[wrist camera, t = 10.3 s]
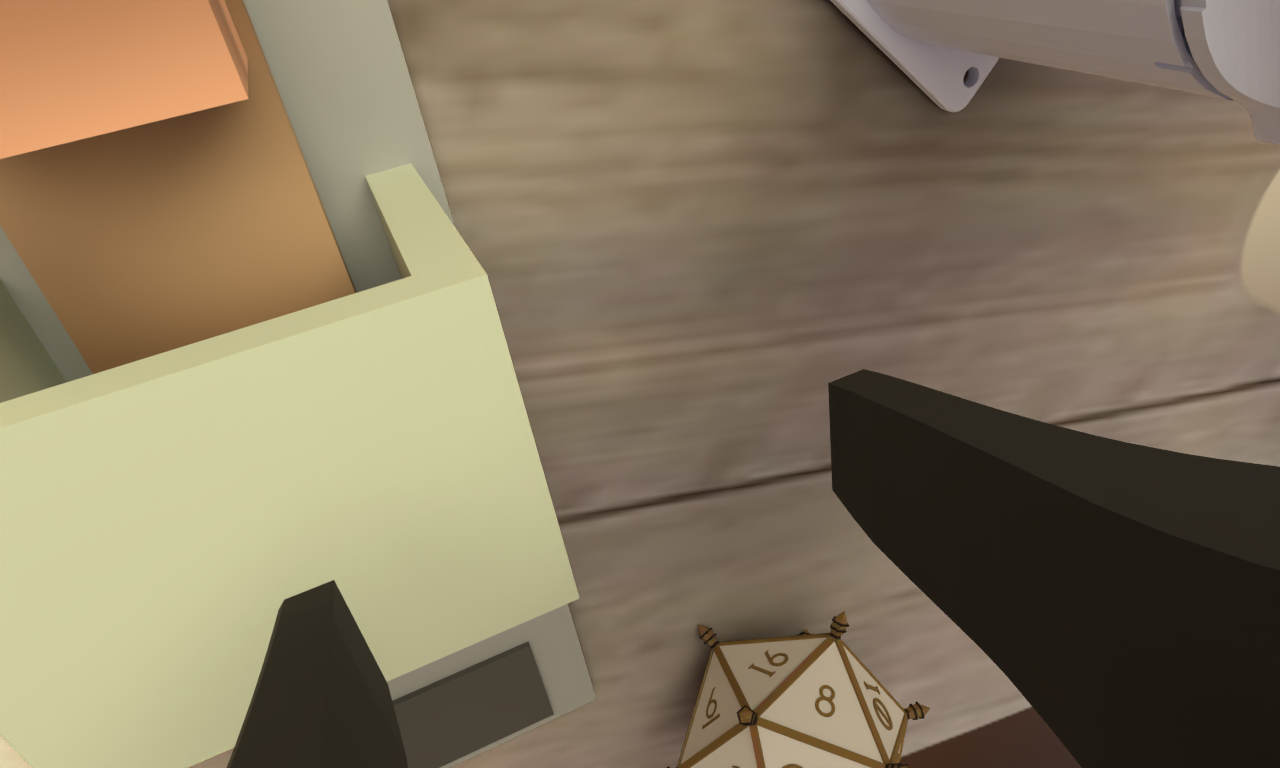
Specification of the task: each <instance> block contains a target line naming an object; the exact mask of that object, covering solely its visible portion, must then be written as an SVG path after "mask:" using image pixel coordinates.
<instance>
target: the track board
mask: <svg viewBox="0 0 1280 768" xmlns="http://www.w3.org/2000/svg"><path fill="white" fill-rule="evenodd" d="M243 1H244V3H245V6H246V8H247V11H248V13H249V16H250V19H251V21H252V24H253V26H254V29H255V32H256V34H257V37H258V39H259V42H260V44H261V47H262V50H263V52H264V55H265V57H266V60H267V62H268V65H269V68H270V70H271V73H272V75H273V78H274V80H275V83H276V86H277V88H278V91H279V93H280V96H281V99H282V101H283V104H284V106H285V109H286V111H287V114H288V117H289V119H290V122H291V124H292V127H293V129H294V132H295V135H296V137H297V140H298V142H299V145H300V147H301V150H302V153H303V155H304V158H305V160H306V163H307V166H308V168H309V171H310V173H311V176H312V178H313V181H314V184H315V186H316V189H317V191H318V194H319V196H320V199H321V202H322V204H323V207H324V209H325V212H326V214H327V217H328V220H329V222H330V225H331V227H332V230H333V233H334V235H335V238H336V240H337V243H338V245H339V248H340V251H341V253H342V256H343V258H344V261H345V263H346V266H347V269H348V271H349V274H350V276H351V279H352V281H353V284H354V287H355V289H356V292H357V293H358V292H361V291H364V290H367V289H371V288H374V287H377V286H380V285H384V284H387V283H390V282H393V281H397V280H400V279H401V277H400V275H399V272H398V269H397V266H396V263H395V260H394V257H393V255H392V252H391V249H390V246H389V243H388V240H387V238H386V235H385V232H384V229H383V226H382V223H381V220H380V218H379V215H378V212H377V209H376V206H375V203H374V200H373V198H372V195H371V192H370V189H369V186H368V183H367V181H366V178H365V176H367V175H371V174H374V173H378V172H382V171H385V170H389V169H393V168H396V167H400V166H403V165H407V164H412V165H413V167H414V168H415V169H416V171H417V172H418V174H419V175H420V177H421V178H422V180H423V181H424V183H425V184H426V186H427V187H428V189H429V190H430V191H431V193H432V194H433V196H434V197H435V199H436V200H437V202H438V203H439V205H440V206H441V208H442V209H443V211H444V212H445V214H446V215H447V216H448V218H449V219H450V221H451V222H452V224H453V225H454V222H453V219H452V215H451V212H450V209H449V205H448V202H447V199H446V195H445V192H444V189H443V185H442V182H441V179H440V175H439V172H438V169H437V165H436V162H435V159H434V155H433V152H432V149H431V145H430V142H429V139H428V135H427V132H426V129H425V125H424V122H423V119H422V115H421V112H420V109H419V105H418V102H417V98H416V95H415V92H414V88H413V85H412V82H411V78H410V75H409V72H408V68H407V65H406V62H405V58H404V55H403V52H402V48H401V45H400V42H399V38H398V35H397V32H396V28H395V25H394V22H393V18H392V15H391V12H390V8H389V5H388V2H387V0H243ZM454 227H455V225H454ZM0 280H1V281H2V283H3V284H4V286H5V288H6V289H7V291H8V292H9V294H10V295H11V297H12V298H13V300H14V301H15V303H16V304H17V306H18V308H19V309H20V311H21V312H22V314H23V315H24V317H25V318H26V320H27V321H28V323H29V324H30V326H31V328H32V329H33V331H34V332H35V334H36V335H37V337H38V338H39V340H40V341H41V343H42V345H43V346H44V348H45V349H46V351H47V352H48V354H49V355H50V357H51V358H52V360H53V361H54V363H55V365H56V366H57V368H58V369H59V371H60V372H61V374H62V375H63V377H64V378H65V380H66V381H67V382H70V381H73V380H76V379H80V378H83V377H86V376H89V375H93V373H92V371H91V370H90V368H89V367H88V365H87V363H86V362H85V360H84V359H83V357H82V355H81V354H80V352H79V351H78V349H77V347H76V346H75V344H74V343H73V341H72V339H71V338H70V336H69V335H68V333H67V331H66V330H65V328H64V327H63V325H62V323H61V322H60V320H59V319H58V317H57V315H56V314H55V312H54V311H53V309H52V307H51V306H50V304H49V303H48V301H47V299H46V298H45V296H44V295H43V293H42V291H41V290H40V288H39V287H38V285H37V283H36V282H35V280H34V279H33V277H32V275H31V274H30V272H29V271H28V269H27V267H26V266H25V264H24V262H23V261H22V259H21V258H20V256H19V254H18V253H17V251H16V250H15V248H14V246H13V245H12V243H11V242H10V240H9V238H8V237H7V235H6V234H5V232H4V230H3V229H2V227H1V226H0ZM525 642H529V644H530V647H531V650H532V653H533V655H534V658H535V661H536V664H537V667H538V670H539V673H540V675H541V678H542V681H543V684H544V687H545V690H546V693H547V695H548V698H549V701H550V704H551V707H552V710H553V712H554V715H552V716H550V717H548V718H545V719H543V720H541V721H539V722H537V723H535V724H533V725H530V726H528V727H526V728H524V729H522V730H520V731H517V732H515V733H513V734H511V735H509V736H507V737H505V738H502V739H500V740H498V741H496V742H494V743H492V744H490V745H487V746H485V747H483V748H481V749H479V750H477V751H475V752H472V753H470V754H468V755H466V756H464V757H462V758H460V759H457V760H455V761H453V762H451V763H449V764H447V765H444V766H442V767H440V768H451V767H453V766H455V765H458V764H460V763H462V762H464V761H466V760H468V759H470V758H473V757H475V756H477V755H479V754H481V753H483V752H485V751H488V750H490V749H492V748H494V747H496V746H498V745H500V744H503V743H505V742H507V741H509V740H511V739H513V738H515V737H518V736H520V735H522V734H524V733H526V732H528V731H530V730H532V729H535V728H537V727H539V726H541V725H543V724H545V723H547V722H550V721H552V720H554V719H556V718H558V717H560V716H562V715H565V714H567V713H569V712H571V711H573V710H575V709H577V708H580V707H582V706H584V705H586V704H588V703H590V702H592V701H595V700H597V699H596V696H595V693H594V689H593V686H592V683H591V679H590V676H589V673H588V669H587V666H586V663H585V659H584V656H583V653H582V649H581V646H580V643H579V639H578V636H577V633H576V629H575V626H574V623H573V619H572V616H571V613H570V609H569V606H568V604H566V605H563V606H561V607H559V608H557V609H554V610H552V611H550V612H547V613H545V614H543V615H540V616H538V617H536V618H533V619H531V620H529V621H526V622H524V623H522V624H519V625H517V626H515V627H512V628H510V629H508V630H506V631H503V632H501V633H499V634H496V635H494V636H492V637H489V638H487V639H485V640H482V641H480V642H478V643H475V644H473V645H471V646H468V647H466V648H464V649H462V650H459V651H457V652H455V653H452V654H450V655H448V656H445V657H443V658H441V659H438V660H436V661H434V662H431V663H429V664H427V665H424V666H422V667H420V668H418V669H415V670H413V671H411V672H408V673H406V674H404V675H401V676H399V677H397V678H394V679H392V680H390V681H387V683H388V686H389V690H390V694H391V698H392V701H393V700H395V699H398V698H400V697H402V696H404V695H407V694H409V693H411V692H414V691H416V690H418V689H420V688H423V687H425V686H427V685H430V684H432V683H434V682H436V681H439V680H441V679H443V678H445V677H448V676H450V675H452V674H455V673H457V672H459V671H461V670H464V669H466V668H468V667H471V666H473V665H475V664H477V663H480V662H482V661H484V660H487V659H489V658H491V657H493V656H496V655H498V654H500V653H503V652H505V651H507V650H509V649H512V648H514V647H516V646H518V645H521V644H523V643H525Z"/></svg>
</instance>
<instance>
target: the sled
mask: <svg viewBox="0 0 1280 768" xmlns="http://www.w3.org/2000/svg"><path fill="white" fill-rule="evenodd" d="M0 226H1V227H2V229H3V230H4V232H5V234H6V235H7V237H8V238H9V240H10V242H11V243H12V245H13V246H14V248H15V250H16V251H17V253H18V254H19V256H20V258H21V259H22V261H23V262H24V264H25V266H26V267H27V269H28V271H29V272H30V274H31V275H32V277H33V279H34V280H35V282H36V283H37V285H38V287H39V288H40V290H41V291H42V293H43V295H44V296H45V298H46V299H47V301H48V303H49V304H50V306H51V307H52V309H53V311H54V312H55V314H56V315H57V317H58V319H59V320H60V322H61V323H62V325H63V327H64V328H65V330H66V331H67V333H68V335H69V336H70V338H71V339H72V341H73V343H74V344H75V346H76V347H77V349H78V351H79V352H80V354H81V355H82V357H83V359H84V360H85V362H86V363H87V365H88V367H89V368H90V370H91V371H92V373H93V374H96V373H99V372H102V371H105V370H109V369H112V368H115V367H118V366H122V365H125V364H128V363H131V362H135V361H138V360H141V359H144V358H148V357H151V356H154V355H157V354H160V353H164V352H167V351H170V350H173V349H177V348H180V347H183V346H186V345H190V344H193V343H196V342H199V341H202V340H206V339H209V338H212V337H215V336H219V335H222V334H225V333H228V332H232V331H235V330H238V329H241V328H245V327H248V326H251V325H254V324H257V323H261V322H264V321H267V320H270V319H274V318H277V317H280V316H283V315H287V314H290V313H293V312H296V311H300V310H303V309H306V308H309V307H312V306H316V305H319V304H322V303H325V302H329V301H332V300H335V299H338V298H342V297H345V296H348V295H351V294H355V293H357V292H356V289H355V287H354V284H353V281H352V279H351V276H350V274H349V271H348V269H347V266H346V263H345V261H344V258H343V256H342V253H341V251H340V248H339V245H338V243H337V240H336V238H335V235H334V233H333V230H332V227H331V225H330V222H329V220H328V217H327V214H326V212H325V209H324V207H323V204H322V202H321V199H320V196H319V194H318V191H317V189H316V186H315V184H314V181H313V178H312V176H311V173H310V171H309V168H308V166H307V163H306V160H305V158H304V155H303V153H302V150H301V147H300V145H299V142H298V140H297V137H296V135H295V132H294V129H293V127H292V124H291V122H290V119H289V117H288V114H287V111H286V109H285V106H284V104H283V101H282V99H281V96H280V93H279V91H278V88H277V86H276V83H275V80H274V78H273V75H272V73H271V70H270V68H269V65H268V62H267V60H266V57H265V55H264V52H263V50H262V47H261V44H260V42H259V39H258V37H257V34H256V32H255V29H254V26H253V24H252V21H251V19H250V16H249V13H248V11H247V8H246V6H245V3H244V1H243V0H0Z"/></svg>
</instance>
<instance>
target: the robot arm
mask: <svg viewBox="0 0 1280 768" xmlns="http://www.w3.org/2000/svg"><path fill="white" fill-rule="evenodd" d="M830 1H831V2H832V3H833V4H834V5H835V6H836V7H837V8H838V9H839V10H840V11H841V12H842V13H843V14H844V15H846V16H847V17H848V18H849V19H850V20H851V21H852V22H853V23H854V24H855V25H856V26H857V27H858V28H859V29H860V30H861V31H862V32H863V33H864V34H865V35H866V36H867V37H868V38H869V39H870V40H871V41H872V42H873V43H874V44H875V45H876V46H877V47H878V48H879V49H880V50H881V51H882V52H883V53H884V54H885V55H886V56H887V57H888V58H890V59H891V60H892V61H893V62H894V63H895V64H896V65H897V66H898V67H899V68H900V69H901V70H902V71H903V72H904V73H905V74H906V75H907V76H908V77H909V78H910V79H911V80H912V81H913V82H914V83H915V84H916V85H917V86H918V87H919V88H920V89H921V90H922V91H923V92H924V93H925V94H926V95H927V96H928V97H929V98H930V99H931V100H932V101H933V102H935V103H936V104H937V105H938V106H939V107H940V108H941V109H943V110H945V111H949V112H958V111H960V110H962V109H964V108H965V106H966V105H967V104H968V103H969V102H970V100H971V99H972V97H973V96H974V94H975V93H976V92H977V90H978V89H979V87H980V86H981V84H982V83H983V81H984V80H985V79H986V77H987V76H988V74H989V73H990V71H991V70H992V68H993V67H994V66H995V64H996V63H997V61H998V60H999V58H1005V59H1010V60H1016V61H1021V62H1027V63H1032V64H1037V65H1043V66H1048V67H1054V68H1059V69H1064V70H1070V71H1075V72H1081V73H1086V74H1091V75H1097V76H1102V77H1108V78H1113V79H1118V80H1124V81H1129V82H1135V83H1140V84H1145V85H1151V86H1156V87H1162V88H1167V89H1172V90H1178V91H1183V92H1189V93H1194V94H1199V95H1205V96H1210V97H1216V98H1221V99H1227V100H1235V101H1237V102H1238V103H1240V104H1241V105H1243V106H1244V107H1245V108H1246V110H1247V111H1248V112H1249V114H1250V116H1251V119H1252V121H1253V128H1254V135H1255V138H1256V140H1259V141H1263V142H1268V143H1272V144H1277V145H1280V0H830ZM967 70H969V74H968V77H967V80H966V81H965V82H964V83H963V79H964V75H965V73H966V71H967ZM828 385H829V411H830V438H831V464H832V490H833V491H834V493H835V494H836V495H837V497H838V498H839V499H840V501H841V502H842V503H843V505H844V506H845V507H846V509H847V510H848V511H849V513H850V514H851V515H852V517H853V518H854V519H855V520H856V522H857V523H858V524H859V525H860V527H861V528H862V529H863V530H864V532H865V533H866V534H867V535H868V537H869V538H870V539H871V540H872V542H873V543H874V544H875V545H876V546H877V547H878V548H879V549H880V550H881V551H882V552H883V553H884V554H885V555H886V556H887V557H888V558H889V559H890V560H891V561H892V562H893V563H894V564H895V565H896V566H897V567H898V568H899V569H900V570H901V571H902V572H903V573H904V574H905V575H906V576H907V577H908V578H909V579H910V580H911V581H912V582H913V583H914V584H915V585H916V586H917V587H918V588H920V589H921V590H922V591H923V592H924V593H925V594H926V595H927V596H928V597H929V598H930V599H931V600H932V601H933V602H934V603H935V604H936V605H937V606H938V607H939V608H940V609H941V610H942V611H943V612H944V613H945V614H946V615H947V616H948V617H949V618H950V619H951V620H952V621H953V622H954V623H955V624H956V625H957V626H959V627H960V628H961V629H962V630H963V631H964V632H965V633H966V634H967V635H968V636H969V637H970V638H971V639H972V640H973V641H974V642H975V643H976V644H977V645H978V646H979V647H980V648H981V649H982V650H983V651H984V652H985V653H986V654H987V655H988V656H989V657H990V658H991V660H992V661H993V662H994V663H995V664H996V665H997V666H998V667H999V668H1000V669H1001V670H1002V671H1003V672H1004V673H1005V674H1006V676H1007V677H1008V678H1009V679H1010V680H1011V682H1012V683H1013V684H1014V685H1015V686H1016V688H1017V689H1018V690H1019V691H1020V692H1021V693H1022V695H1023V696H1024V697H1025V698H1026V699H1027V701H1028V702H1029V703H1030V704H1031V705H1032V707H1033V708H1034V709H1035V710H1036V711H1037V713H1038V714H1039V715H1040V716H1041V717H1042V718H1043V719H1044V721H1045V722H1046V723H1047V724H1048V726H1049V727H1050V728H1051V729H1052V730H1053V732H1054V733H1055V734H1056V735H1057V737H1058V738H1059V739H1060V741H1061V742H1062V743H1063V744H1064V745H1065V747H1066V748H1067V749H1068V750H1069V752H1070V753H1071V754H1072V756H1073V757H1074V758H1075V759H1076V761H1077V762H1078V763H1079V764H1080V766H1081V767H1082V768H1280V467H1277V466H1269V465H1261V464H1253V463H1245V462H1237V461H1230V460H1222V459H1215V458H1209V457H1202V456H1196V455H1189V454H1184V453H1178V452H1173V451H1168V450H1162V449H1157V448H1152V447H1147V446H1141V445H1136V444H1131V443H1126V442H1121V441H1117V440H1112V439H1108V438H1103V437H1099V436H1095V435H1091V434H1087V433H1083V432H1079V431H1075V430H1071V429H1067V428H1063V427H1059V426H1055V425H1051V424H1047V423H1044V422H1040V421H1037V420H1033V419H1029V418H1026V417H1022V416H1019V415H1015V414H1012V413H1008V412H1005V411H1002V410H998V409H995V408H992V407H988V406H985V405H982V404H979V403H975V402H972V401H969V400H966V399H962V398H959V397H956V396H953V395H950V394H946V393H943V392H940V391H937V390H934V389H931V388H927V387H924V386H921V385H918V384H915V383H911V382H908V381H905V380H902V379H898V378H895V377H891V376H888V375H884V374H881V373H877V372H873V371H869V370H865V369H863V370H860V371H858V372H855V373H853V374H850V375H848V376H845V377H843V378H840V379H838V380H835V381H833V382H830V383H828ZM227 768H408V765H407V757H406V753H405V749H404V745H403V741H402V737H401V733H400V729H399V725H398V721H397V717H396V713H395V709H394V706H393V702H392V698H391V694H390V690H389V686H388V683H387V681H386V679H385V678H384V676H383V674H382V672H381V670H380V668H379V666H378V664H377V662H376V660H375V658H374V656H373V654H372V652H371V650H370V648H369V646H368V645H367V643H366V641H365V639H364V637H363V635H362V633H361V631H360V629H359V627H358V625H357V623H356V621H355V619H354V617H353V615H352V614H351V612H350V610H349V608H348V606H347V604H346V602H345V600H344V598H343V596H342V594H341V592H340V590H339V588H338V586H337V584H336V583H335V581H334V580H332V581H330V582H327V583H325V584H322V585H320V586H317V587H315V588H312V589H310V590H307V591H305V592H302V593H300V594H297V595H295V596H292V597H290V598H287V599H285V600H284V601H283V603H282V605H281V606H280V608H279V610H278V614H277V617H276V621H275V625H274V628H273V632H272V635H271V639H270V642H269V646H268V649H267V652H266V656H265V659H264V662H263V665H262V669H261V672H260V675H259V678H258V681H257V684H256V687H255V690H254V693H253V696H252V699H251V702H250V705H249V708H248V711H247V714H246V716H245V719H244V722H243V725H242V727H241V730H240V733H239V736H238V739H237V741H236V744H235V747H234V750H233V753H232V755H231V758H230V761H229V763H228V766H227Z"/></svg>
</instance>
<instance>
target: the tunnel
mask: <svg viewBox="0 0 1280 768" xmlns="http://www.w3.org/2000/svg"><path fill="white" fill-rule="evenodd" d="M365 178H366V181H367V183H368V186H369V189H370V192H371V195H372V198H373V200H374V203H375V206H376V209H377V212H378V215H379V218H380V220H381V223H382V226H383V229H384V232H385V235H386V238H387V240H388V243H389V246H390V249H391V252H392V255H393V257H394V260H395V263H396V266H397V269H398V272H399V275H400V277H401V279H400V280H397V281H393V282H390V283H387V284H384V285H380V286H377V287H374V288H371V289H367V290H364V291H361V292H358V293H355V294H351V295H348V296H345V297H342V298H338V299H335V300H332V301H329V302H325V303H322V304H319V305H316V306H312V307H309V308H306V309H303V310H300V311H296V312H293V313H290V314H287V315H283V316H280V317H277V318H274V319H270V320H267V321H264V322H261V323H257V324H254V325H251V326H248V327H245V328H241V329H238V330H235V331H232V332H228V333H225V334H222V335H219V336H215V337H212V338H209V339H206V340H202V341H199V342H196V343H193V344H190V345H186V346H183V347H180V348H177V349H173V350H170V351H167V352H164V353H160V354H157V355H154V356H151V357H148V358H144V359H141V360H138V361H135V362H131V363H128V364H125V365H122V366H118V367H115V368H112V369H109V370H105V371H102V372H99V373H96V374H93V375H89V376H86V377H83V378H80V379H76V380H73V381H70V382H67V381H66V380H65V378H64V377H63V375H62V374H61V372H60V371H59V369H58V368H57V366H56V365H55V363H54V361H53V360H52V358H51V357H50V355H49V354H48V352H47V351H46V349H45V348H44V346H43V345H42V343H41V341H40V340H39V338H38V337H37V335H36V334H35V332H34V331H33V329H32V328H31V326H30V324H29V323H28V321H27V320H26V318H25V317H24V315H23V314H22V312H21V311H20V309H19V308H18V306H17V304H16V303H15V301H14V300H13V298H12V297H11V295H10V294H9V292H8V291H7V289H6V288H5V286H4V284H3V283H2V281H1V280H0V735H1V736H2V737H3V738H4V739H5V740H6V741H7V742H8V744H9V745H10V746H11V747H12V748H13V749H14V750H15V751H16V752H17V753H18V754H19V755H20V756H21V757H22V758H23V759H24V760H25V761H26V762H27V763H28V764H29V765H30V766H31V767H32V768H188V767H191V766H193V765H195V764H197V763H200V762H202V761H204V760H207V759H209V758H211V757H214V756H216V755H218V754H221V753H223V752H225V751H228V750H230V749H232V748H234V747H235V744H236V741H237V739H238V736H239V733H240V730H241V727H242V725H243V722H244V719H245V716H246V714H247V711H248V708H249V705H250V702H251V699H252V696H253V693H254V690H255V687H256V684H257V681H258V678H259V675H260V672H261V669H262V665H263V662H264V659H265V656H266V652H267V649H268V646H269V642H270V639H271V635H272V632H273V628H274V625H275V621H276V617H277V614H278V610H279V608H280V606H281V605H282V603H283V601H284V600H285V599H287V598H290V597H292V596H295V595H297V594H300V593H302V592H305V591H307V590H310V589H312V588H315V587H317V586H320V585H322V584H325V583H327V582H330V581H332V580H334V581H335V583H336V584H337V586H338V588H339V590H340V592H341V594H342V596H343V598H344V600H345V602H346V604H347V606H348V608H349V610H350V612H351V614H352V615H353V617H354V619H355V621H356V623H357V625H358V627H359V629H360V631H361V633H362V635H363V637H364V639H365V641H366V643H367V645H368V646H369V648H370V650H371V652H372V654H373V656H374V658H375V660H376V662H377V664H378V666H379V668H380V670H381V672H382V674H383V676H384V678H385V679H386V681H390V680H392V679H394V678H397V677H399V676H401V675H404V674H406V673H408V672H411V671H413V670H415V669H418V668H420V667H422V666H424V665H427V664H429V663H431V662H434V661H436V660H438V659H441V658H443V657H445V656H448V655H450V654H452V653H455V652H457V651H459V650H462V649H464V648H466V647H468V646H471V645H473V644H475V643H478V642H480V641H482V640H485V639H487V638H489V637H492V636H494V635H496V634H499V633H501V632H503V631H506V630H508V629H510V628H512V627H515V626H517V625H519V624H522V623H524V622H526V621H529V620H531V619H533V618H536V617H538V616H540V615H543V614H545V613H547V612H550V611H552V610H554V609H557V608H559V607H561V606H563V605H566V604H568V603H570V602H573V601H575V600H577V599H580V598H579V594H578V591H577V587H576V584H575V580H574V577H573V573H572V570H571V566H570V563H569V559H568V556H567V552H566V549H565V545H564V542H563V538H562V535H561V531H560V528H559V524H558V521H557V517H556V514H555V510H554V507H553V503H552V500H551V496H550V493H549V489H548V486H547V482H546V479H545V475H544V472H543V468H542V465H541V462H540V458H539V455H538V451H537V448H536V444H535V441H534V437H533V434H532V430H531V427H530V423H529V420H528V416H527V413H526V409H525V406H524V402H523V399H522V395H521V392H520V388H519V385H518V381H517V378H516V374H515V371H514V367H513V364H512V360H511V357H510V353H509V350H508V346H507V343H506V339H505V336H504V332H503V329H502V325H501V322H500V318H499V315H498V311H497V308H496V304H495V301H494V297H493V294H492V290H491V287H490V283H489V280H488V276H487V274H486V272H485V271H484V269H483V268H482V266H481V265H480V264H479V262H478V261H477V259H476V258H475V256H474V255H473V253H472V252H471V250H470V249H469V247H468V246H467V244H466V243H465V241H464V240H463V239H462V237H461V236H460V234H459V233H458V231H457V230H456V228H455V227H454V225H453V224H452V222H451V221H450V219H449V218H448V216H447V215H446V214H445V212H444V211H443V209H442V208H441V206H440V205H439V203H438V202H437V200H436V199H435V197H434V196H433V194H432V193H431V191H430V190H429V189H428V187H427V186H426V184H425V183H424V181H423V180H422V178H421V177H420V175H419V174H418V172H417V171H416V169H415V168H414V167H413V165H412V164H407V165H403V166H400V167H396V168H393V169H389V170H385V171H382V172H378V173H374V174H371V175H367V176H365Z"/></svg>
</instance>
